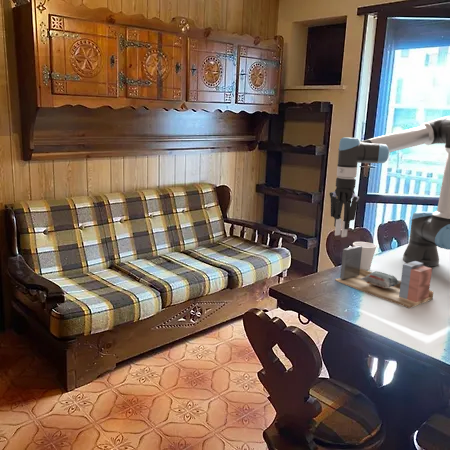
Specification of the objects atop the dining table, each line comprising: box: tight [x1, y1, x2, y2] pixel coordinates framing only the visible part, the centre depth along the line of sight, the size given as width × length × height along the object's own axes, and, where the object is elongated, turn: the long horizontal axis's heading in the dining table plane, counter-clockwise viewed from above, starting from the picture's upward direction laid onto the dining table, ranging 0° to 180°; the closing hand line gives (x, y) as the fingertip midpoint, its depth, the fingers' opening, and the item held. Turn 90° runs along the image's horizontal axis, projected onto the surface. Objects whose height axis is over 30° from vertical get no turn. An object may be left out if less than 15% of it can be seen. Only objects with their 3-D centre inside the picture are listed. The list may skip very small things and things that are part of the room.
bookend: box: [339, 246, 362, 280], centre depth 186 cm, size 10×2×12 cm, turn 128°
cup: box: [352, 241, 377, 271], centre depth 201 cm, size 10×10×11 cm
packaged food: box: [361, 270, 400, 288], centre depth 177 cm, size 9×12×5 cm
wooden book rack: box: [335, 261, 434, 309], centre depth 176 cm, size 15×32×13 cm, turn 38°
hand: (340, 235), depth 190 cm, fingers open, 3 cm apart
